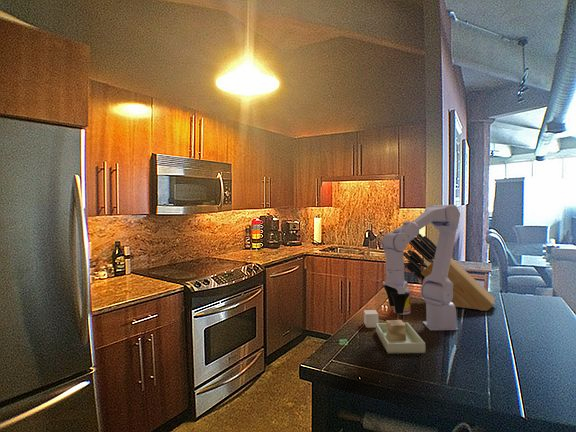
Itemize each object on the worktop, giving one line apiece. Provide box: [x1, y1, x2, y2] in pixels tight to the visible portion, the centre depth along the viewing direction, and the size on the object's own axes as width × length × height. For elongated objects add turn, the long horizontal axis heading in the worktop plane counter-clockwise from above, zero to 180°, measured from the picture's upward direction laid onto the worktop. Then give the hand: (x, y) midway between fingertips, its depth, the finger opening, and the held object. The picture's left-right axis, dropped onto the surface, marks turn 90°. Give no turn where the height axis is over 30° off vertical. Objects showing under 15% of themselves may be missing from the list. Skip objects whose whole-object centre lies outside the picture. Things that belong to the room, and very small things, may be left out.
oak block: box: [385, 319, 406, 341], centre depth 110 cm, size 5×5×5 cm
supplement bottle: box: [393, 280, 412, 316], centre depth 136 cm, size 7×7×13 cm
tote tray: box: [375, 322, 427, 355], centre depth 109 cm, size 11×17×3 cm, turn 177°
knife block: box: [403, 233, 496, 312], centre depth 145 cm, size 11×35×31 cm, turn 54°
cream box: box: [363, 309, 380, 328], centre depth 124 cm, size 4×4×5 cm
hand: (396, 309), depth 110 cm, fingers open, 7 cm apart
